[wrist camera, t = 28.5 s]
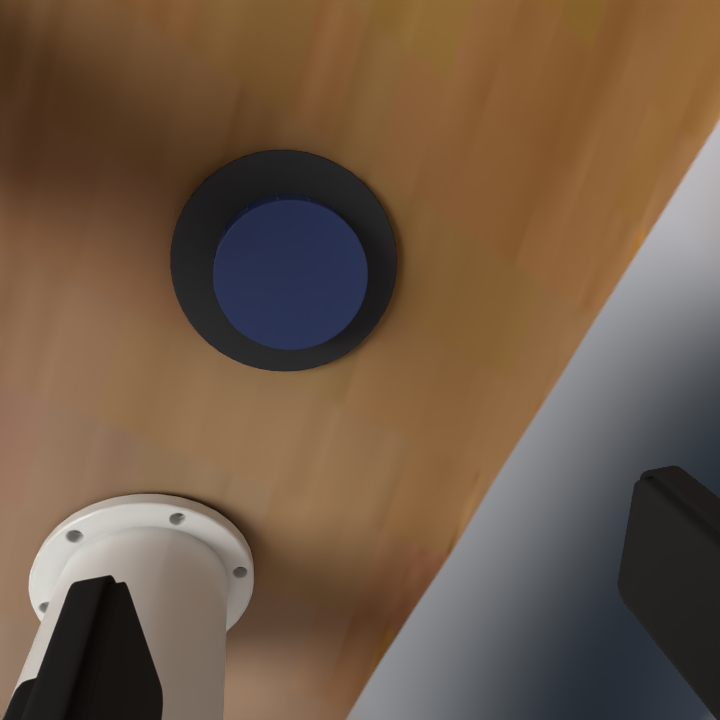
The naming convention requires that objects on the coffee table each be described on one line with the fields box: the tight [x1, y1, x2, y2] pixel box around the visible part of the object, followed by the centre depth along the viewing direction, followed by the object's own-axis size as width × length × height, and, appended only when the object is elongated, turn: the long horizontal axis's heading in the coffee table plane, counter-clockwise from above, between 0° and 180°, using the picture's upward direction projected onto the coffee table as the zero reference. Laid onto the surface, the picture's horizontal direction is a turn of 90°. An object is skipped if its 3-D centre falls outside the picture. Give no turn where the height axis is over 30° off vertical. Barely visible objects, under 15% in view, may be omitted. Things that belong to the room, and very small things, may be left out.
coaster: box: [171, 150, 397, 371], centre depth 27 cm, size 11×11×1 cm
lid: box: [213, 193, 368, 350], centre depth 26 cm, size 7×7×2 cm
